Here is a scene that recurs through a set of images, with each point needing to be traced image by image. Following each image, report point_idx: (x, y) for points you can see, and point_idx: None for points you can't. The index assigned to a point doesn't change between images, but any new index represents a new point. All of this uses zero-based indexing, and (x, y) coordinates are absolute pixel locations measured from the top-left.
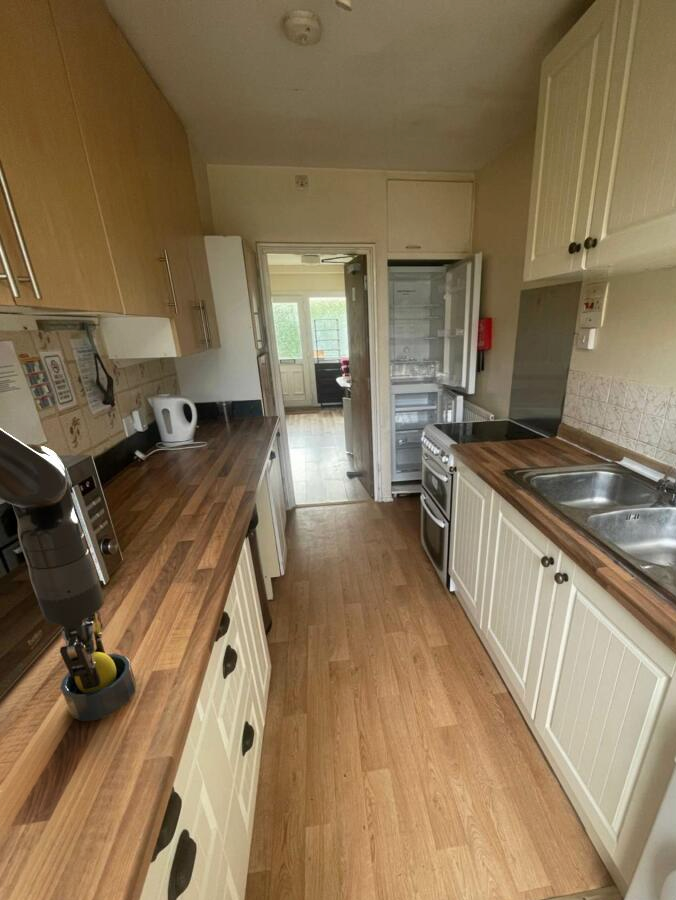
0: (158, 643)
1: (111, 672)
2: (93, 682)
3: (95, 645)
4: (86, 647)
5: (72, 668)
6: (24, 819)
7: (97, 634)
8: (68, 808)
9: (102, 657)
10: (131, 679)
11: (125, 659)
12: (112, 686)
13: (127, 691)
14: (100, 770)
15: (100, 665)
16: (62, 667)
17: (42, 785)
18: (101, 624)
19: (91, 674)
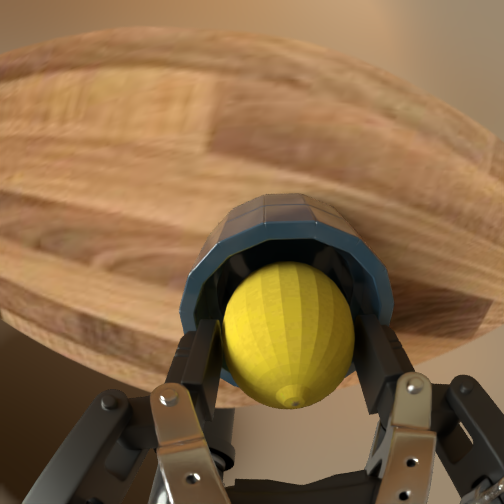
0: (86, 156)
1: (325, 287)
2: (395, 339)
3: (409, 450)
4: (214, 407)
5: (467, 443)
6: (474, 329)
7: (200, 427)
8: (495, 281)
9: (304, 352)
10: (311, 207)
11: (237, 242)
12: (383, 270)
13: (341, 216)
14: (471, 248)
15: (338, 344)
16: (138, 357)
17: (442, 327)
18: (110, 408)
19: (410, 365)
